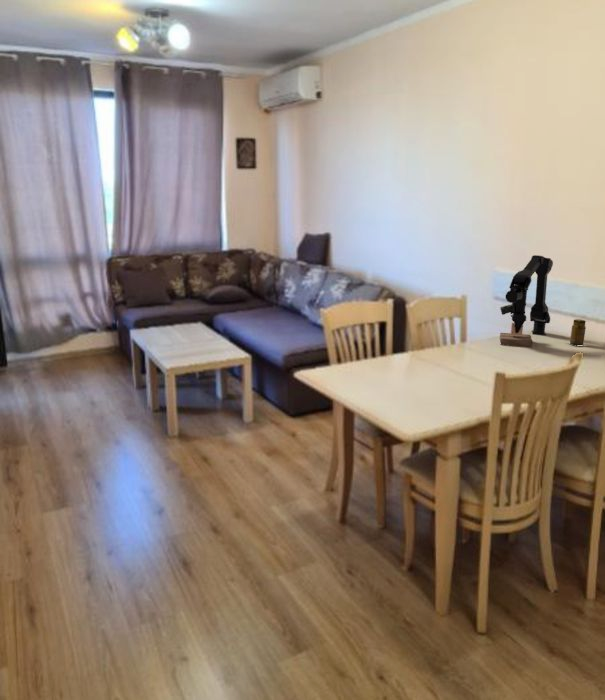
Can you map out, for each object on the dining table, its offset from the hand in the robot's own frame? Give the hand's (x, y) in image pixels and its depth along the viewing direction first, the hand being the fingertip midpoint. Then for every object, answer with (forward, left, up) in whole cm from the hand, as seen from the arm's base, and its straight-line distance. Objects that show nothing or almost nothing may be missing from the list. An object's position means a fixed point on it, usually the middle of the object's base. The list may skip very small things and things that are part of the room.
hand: (516, 331), depth 293 cm
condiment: (-6, +29, -6) cm, 30 cm away
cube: (0, 0, -1) cm, 1 cm away
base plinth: (0, 0, -6) cm, 6 cm away
